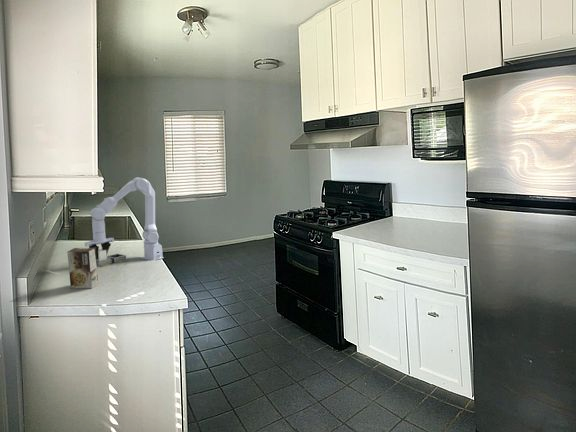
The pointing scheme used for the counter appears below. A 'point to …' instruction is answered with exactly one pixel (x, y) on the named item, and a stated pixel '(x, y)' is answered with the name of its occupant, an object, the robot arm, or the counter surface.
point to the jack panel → (112, 260)
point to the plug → (101, 255)
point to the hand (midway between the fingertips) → (100, 258)
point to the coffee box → (82, 267)
